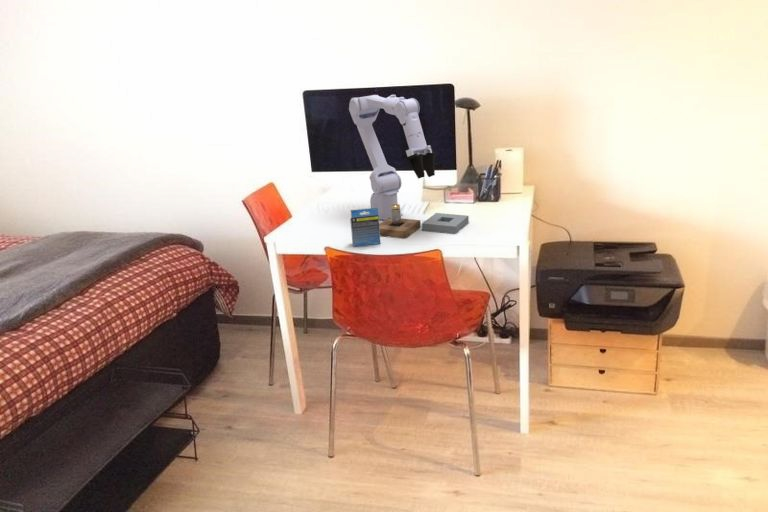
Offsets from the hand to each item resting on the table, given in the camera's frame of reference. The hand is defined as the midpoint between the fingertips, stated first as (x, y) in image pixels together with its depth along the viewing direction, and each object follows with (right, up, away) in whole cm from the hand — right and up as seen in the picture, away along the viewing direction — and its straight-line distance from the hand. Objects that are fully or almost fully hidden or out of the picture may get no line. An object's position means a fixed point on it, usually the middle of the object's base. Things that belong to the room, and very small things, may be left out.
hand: (426, 176), depth 195 cm
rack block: (+7, -15, +11) cm, 20 cm away
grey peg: (-9, -17, +10) cm, 22 cm away
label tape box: (-19, -22, +1) cm, 29 cm away
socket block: (-9, -17, +10) cm, 22 cm away
